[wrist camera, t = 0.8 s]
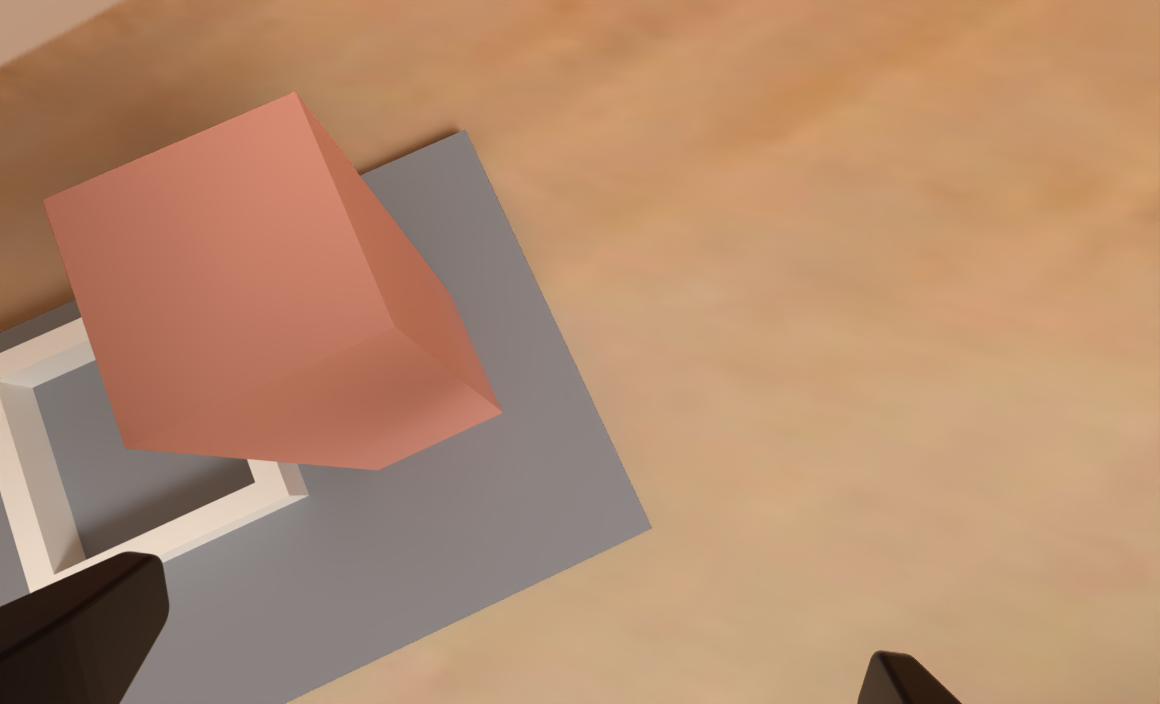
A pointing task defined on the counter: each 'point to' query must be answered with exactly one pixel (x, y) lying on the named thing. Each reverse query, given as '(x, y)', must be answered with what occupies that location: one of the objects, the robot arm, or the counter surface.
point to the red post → (264, 302)
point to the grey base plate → (322, 483)
